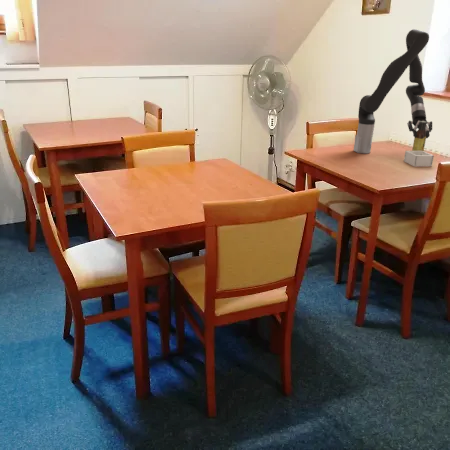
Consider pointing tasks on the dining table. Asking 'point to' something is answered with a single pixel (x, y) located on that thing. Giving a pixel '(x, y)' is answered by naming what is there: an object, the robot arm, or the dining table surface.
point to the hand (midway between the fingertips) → (421, 137)
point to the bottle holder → (418, 158)
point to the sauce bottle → (420, 137)
